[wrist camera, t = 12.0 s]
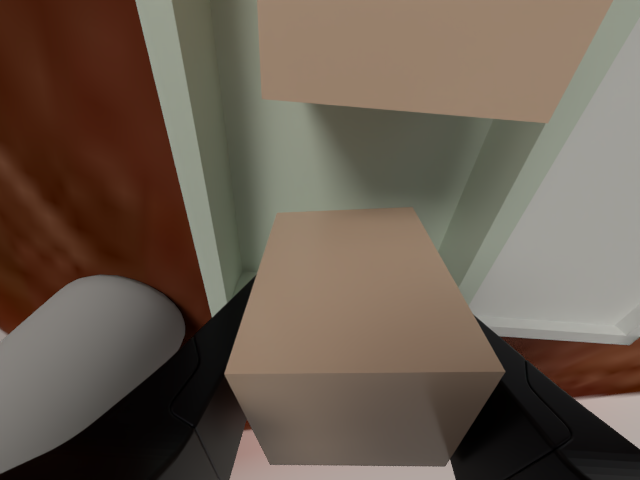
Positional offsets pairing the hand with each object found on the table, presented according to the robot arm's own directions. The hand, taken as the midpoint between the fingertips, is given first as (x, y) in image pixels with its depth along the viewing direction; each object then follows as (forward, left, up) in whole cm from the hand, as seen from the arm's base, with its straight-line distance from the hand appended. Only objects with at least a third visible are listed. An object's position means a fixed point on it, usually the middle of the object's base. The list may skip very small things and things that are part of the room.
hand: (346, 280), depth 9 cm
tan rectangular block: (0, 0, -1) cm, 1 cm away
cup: (+12, +9, -4) cm, 15 cm away
